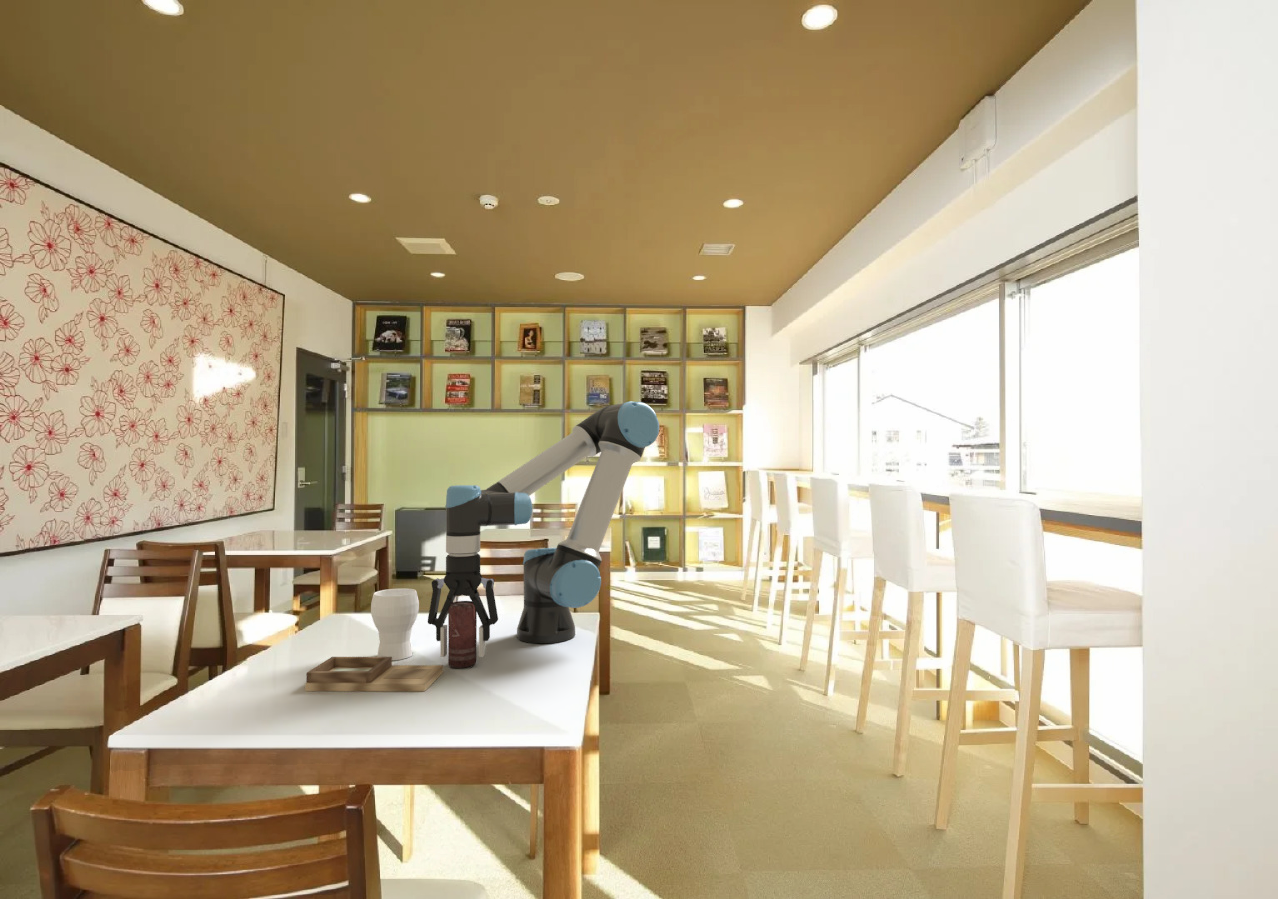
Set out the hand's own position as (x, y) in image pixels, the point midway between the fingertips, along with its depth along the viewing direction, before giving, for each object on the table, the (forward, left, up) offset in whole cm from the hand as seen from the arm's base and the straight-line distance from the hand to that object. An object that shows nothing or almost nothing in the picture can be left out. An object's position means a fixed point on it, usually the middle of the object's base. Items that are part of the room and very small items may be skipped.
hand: (463, 655), depth 151 cm
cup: (+18, -7, -2) cm, 19 cm away
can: (0, 0, -2) cm, 2 cm away
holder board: (+15, +11, -2) cm, 19 cm away
